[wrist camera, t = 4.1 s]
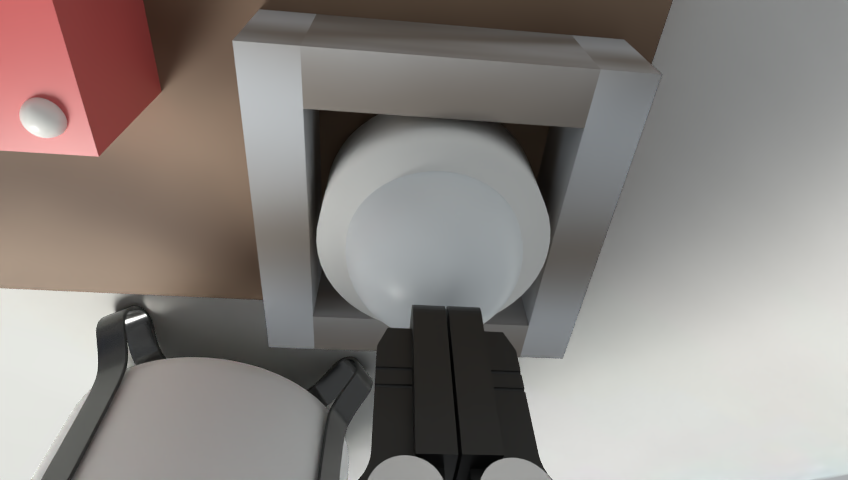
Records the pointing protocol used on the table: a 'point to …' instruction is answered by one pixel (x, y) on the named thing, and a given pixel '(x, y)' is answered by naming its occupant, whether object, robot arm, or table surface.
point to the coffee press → (201, 416)
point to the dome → (431, 218)
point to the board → (333, 150)
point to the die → (73, 73)
